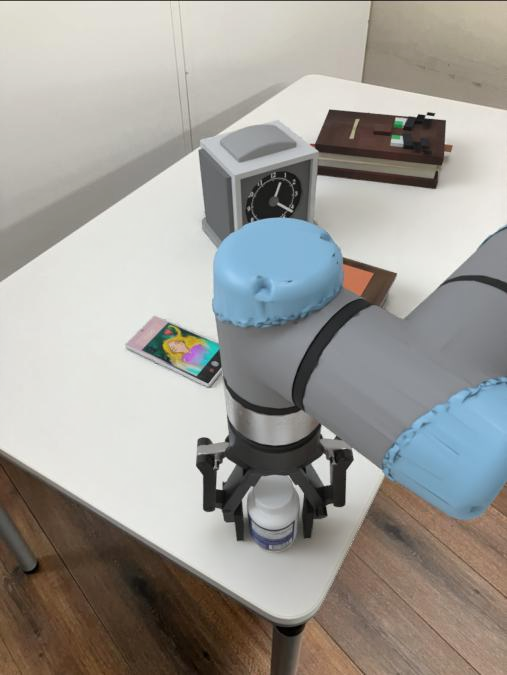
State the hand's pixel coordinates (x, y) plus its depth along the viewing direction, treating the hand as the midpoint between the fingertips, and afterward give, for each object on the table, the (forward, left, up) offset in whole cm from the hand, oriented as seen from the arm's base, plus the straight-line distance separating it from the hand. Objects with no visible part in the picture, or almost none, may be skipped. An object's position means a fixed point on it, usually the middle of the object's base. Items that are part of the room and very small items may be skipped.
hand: (273, 527), depth 56 cm
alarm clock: (+28, -49, 0) cm, 56 cm away
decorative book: (+17, -83, 0) cm, 85 cm away
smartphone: (+24, -17, 0) cm, 29 cm away
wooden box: (+7, -32, 0) cm, 33 cm away
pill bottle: (0, 0, 0) cm, 0 cm away
